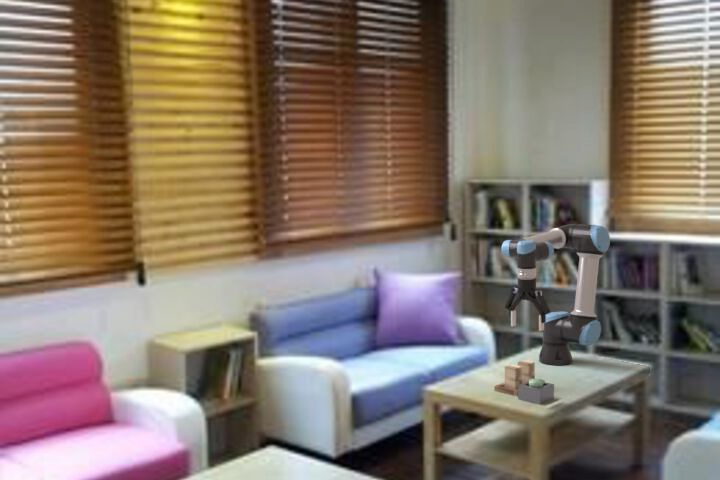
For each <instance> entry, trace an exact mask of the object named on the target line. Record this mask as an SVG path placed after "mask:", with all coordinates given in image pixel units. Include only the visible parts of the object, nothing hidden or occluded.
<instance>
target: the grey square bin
mask: <svg viewBox="0 0 720 480" xmlns="http://www.w3.org/2000/svg"><path fill="white" fill-rule="evenodd" d="M554 398H555V384H554V383H550V382H543V387H540V388H536V387H531V386H529V381H527V382H524V383H522V384H519V385H518V396H517V400H520V401H522V402H527V403H532V404H536V405H539V406H540V405H543V404H545V403H547V402H550V401H552V400H554Z"/></svg>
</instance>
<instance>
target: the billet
mask: <svg viewBox="0 0 720 480" xmlns="http://www.w3.org/2000/svg"><path fill="white" fill-rule="evenodd" d="M517 365H518V366H522V383H524V382H527V381H529V380H530V379H536V375H535V374H536V372H535V371H536V370H535V369H536V362H535V361H533V360H532V361H531V360H527V359H523V360H520V361H517Z"/></svg>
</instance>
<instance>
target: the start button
mask: <svg viewBox="0 0 720 480" xmlns="http://www.w3.org/2000/svg"><path fill="white" fill-rule="evenodd" d="M529 386H531V387H536V388H540V387H543V379H541V378H535V379H530V380H529Z"/></svg>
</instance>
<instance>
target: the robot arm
mask: <svg viewBox="0 0 720 480" xmlns="http://www.w3.org/2000/svg"><path fill="white" fill-rule="evenodd" d="M610 243H611V237H610V234H609V231H608V229H607V228H606V227H604V225H598V224H585V223H583V224H582V223H569V224H565V225H560V226H558V227H553V228H551V229H550V230H549V231H546V232H543V233H540V234H539V233H538V234H536V235H535V234H534V235H531V236H528V237H523V238H520V239H516V240H514V239H506V240H504V241H502V244H501V254H502V255H503V256H504V257H506V258H509V259H511V258H512V259H513V258H514V259H516V260H517V287H516V286H515V287H512V288H511V291H510V294H509V297H508V299H507V302H506V304H505V306H504V308H505V309H507V310H508V311H509V312H508V313H509V318H510V327H515V326H517V310H515V308H517V306H518V305H519V304H520V303H521V301H528V302H529V301H530V302H531V303H532V304H533V306H534V307H535V308H536V310H537V312H539V315H538V332H541V331H542V346H541V349H540V352H539V354H538V362H539V363H542V364H544V365H551V366H566V365H570V364H572V363H573V355H572V352H571V349H570V346H569V343H573V344H577V345H581V346H592V345H594V344H596V342H597V341H598V339H599V338H600V336H601V332H602V325H601V323H600V321H599V320H597V318H598V316H597V314H595V306H596V305H595V304H596V295H597V283H598V276H599V275H598V274H599V264H600V263H599V262H600V259H601V258H602V257H604V253H606V252H607V251H608V250H609V248H610ZM555 249H557V250H558V249H572V250H576V254H577V256H578V257H579V261H578V267H577V268H578V269H577V278H576V289H575V299H574V308H573V310H572V311H571V312H570V313H569V312H568V311H552V312H551V310H550V309H549V305H548V304H547V301H546V300H545V299H546V298H545V297H544V291H543V289H542V290H537V288H536V287H537V278H536V277H537V262H541V261H546V260H548V259H551V258H552V257H553V256H554V253H555ZM517 294H518V296H517V297H516V295H517ZM515 298H516V299H515Z"/></svg>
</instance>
